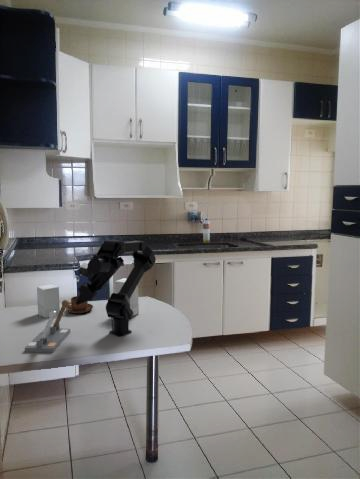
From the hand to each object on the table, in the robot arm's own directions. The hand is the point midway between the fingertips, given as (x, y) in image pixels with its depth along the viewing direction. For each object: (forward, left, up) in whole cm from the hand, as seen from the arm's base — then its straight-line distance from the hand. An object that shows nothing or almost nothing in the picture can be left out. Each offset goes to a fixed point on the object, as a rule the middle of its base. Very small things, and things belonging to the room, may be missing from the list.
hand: (81, 299), depth 158 cm
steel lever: (-1, +17, -11) cm, 21 cm away
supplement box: (+31, -4, -14) cm, 34 cm away
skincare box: (+6, -28, -14) cm, 32 cm away
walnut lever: (+7, +8, -11) cm, 15 cm away
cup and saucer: (+25, -16, -14) cm, 33 cm away
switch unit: (+3, +12, -14) cm, 19 cm away
